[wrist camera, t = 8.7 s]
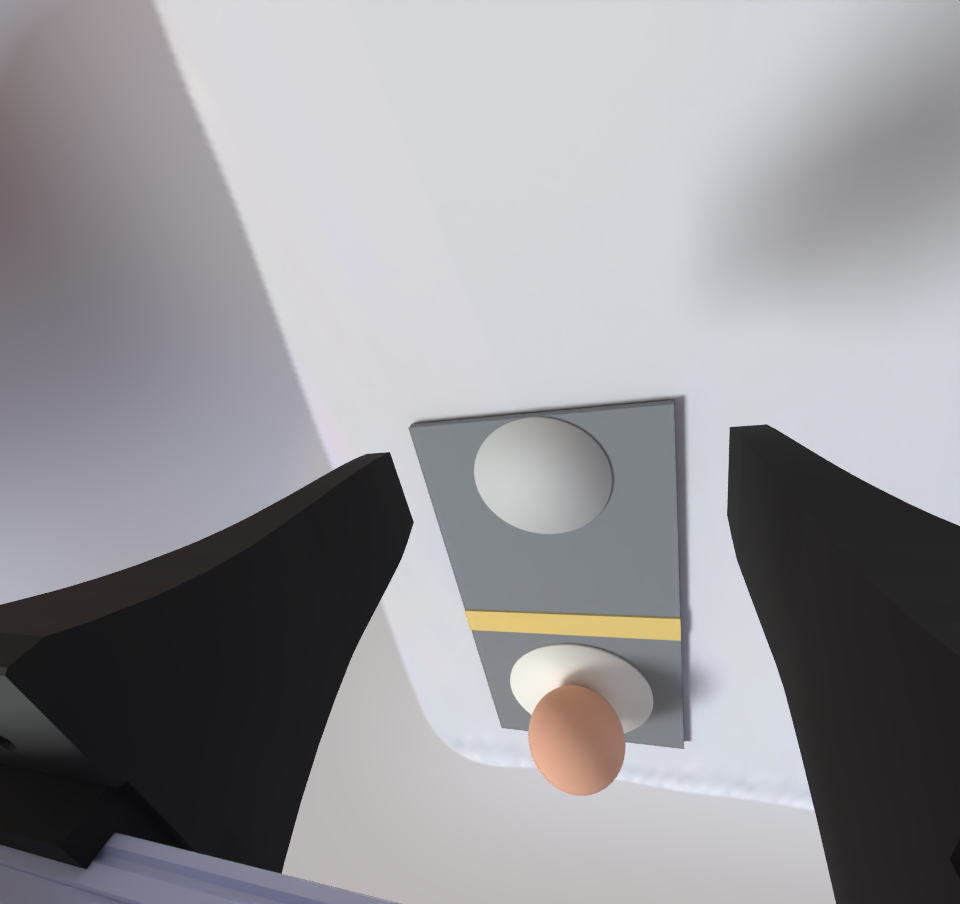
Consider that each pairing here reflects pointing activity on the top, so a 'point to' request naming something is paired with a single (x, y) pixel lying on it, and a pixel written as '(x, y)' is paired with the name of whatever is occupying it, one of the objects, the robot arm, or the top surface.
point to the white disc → (583, 679)
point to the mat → (565, 542)
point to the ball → (576, 740)
